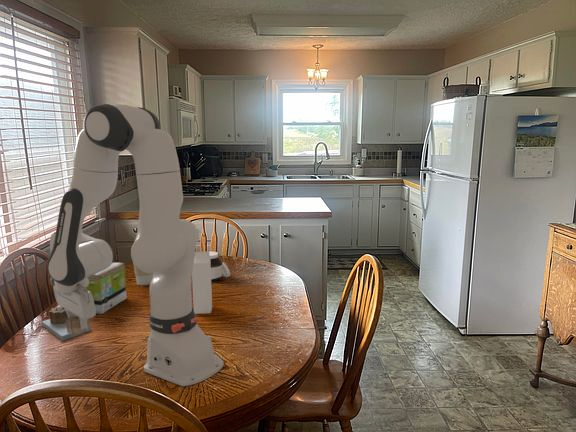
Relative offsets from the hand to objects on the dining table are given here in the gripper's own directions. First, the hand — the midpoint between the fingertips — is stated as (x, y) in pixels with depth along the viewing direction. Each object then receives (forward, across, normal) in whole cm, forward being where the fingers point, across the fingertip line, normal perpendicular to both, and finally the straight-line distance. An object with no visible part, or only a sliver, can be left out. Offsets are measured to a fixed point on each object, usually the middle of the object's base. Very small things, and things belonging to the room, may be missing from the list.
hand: (78, 324), depth 127 cm
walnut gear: (+4, +17, -1) cm, 17 cm away
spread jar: (+7, +14, -64) cm, 66 cm away
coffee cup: (+6, +33, -41) cm, 52 cm away
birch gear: (+2, 0, 0) cm, 2 cm away
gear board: (+5, +13, -1) cm, 14 cm away
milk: (+7, -9, -39) cm, 41 cm away
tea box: (+6, +22, -18) cm, 29 cm away
